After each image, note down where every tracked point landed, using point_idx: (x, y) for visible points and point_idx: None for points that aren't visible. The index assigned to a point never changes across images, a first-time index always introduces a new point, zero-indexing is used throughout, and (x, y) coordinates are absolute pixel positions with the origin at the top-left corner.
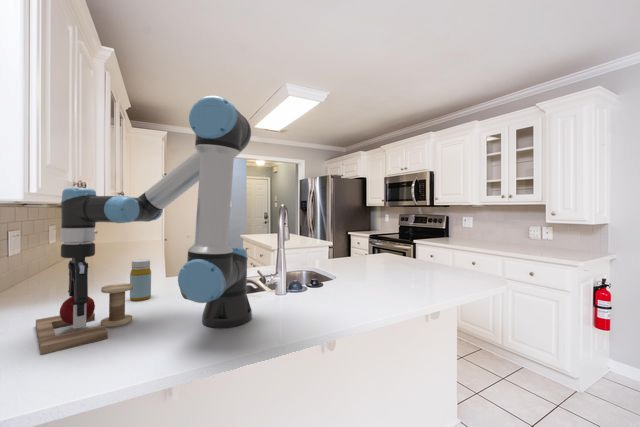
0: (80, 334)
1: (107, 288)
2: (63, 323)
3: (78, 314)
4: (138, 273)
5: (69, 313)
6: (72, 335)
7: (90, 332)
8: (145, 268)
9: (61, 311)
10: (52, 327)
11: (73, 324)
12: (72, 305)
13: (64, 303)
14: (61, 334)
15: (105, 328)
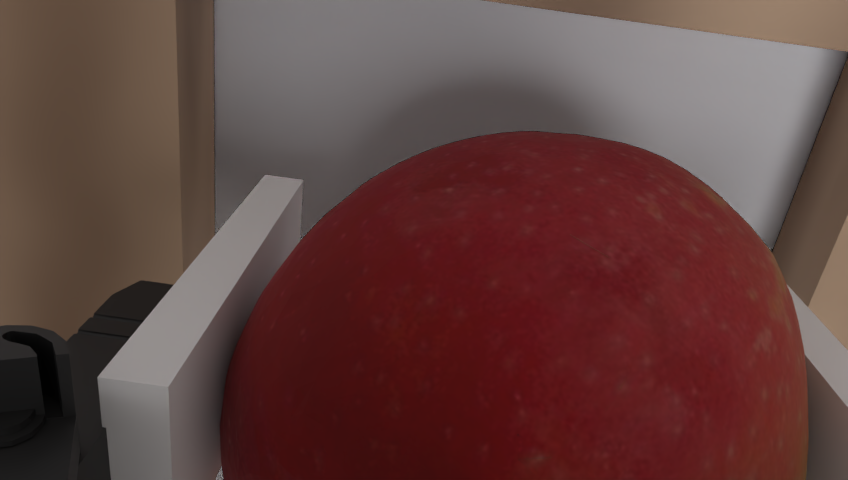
0: (12, 174)
1: None
2: (826, 181)
3: (111, 308)
4: None
5: (309, 236)
6: (40, 105)
7: (20, 263)
8: None
9: (481, 164)
10: (612, 11)
11: (250, 195)
12: (264, 359)
13: (511, 291)
14: (177, 22)
15: None
